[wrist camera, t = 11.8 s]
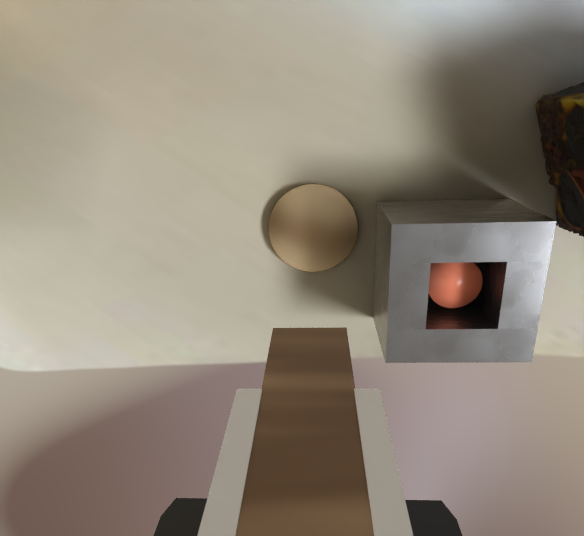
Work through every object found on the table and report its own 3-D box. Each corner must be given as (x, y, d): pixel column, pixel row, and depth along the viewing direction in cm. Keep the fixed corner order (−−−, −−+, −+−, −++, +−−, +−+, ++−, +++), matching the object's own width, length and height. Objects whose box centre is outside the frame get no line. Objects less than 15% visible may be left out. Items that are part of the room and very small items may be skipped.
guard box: (377, 201, 34) (391, 224, 28) (509, 198, 34) (556, 221, 27) (373, 317, 38) (385, 362, 31) (493, 316, 37) (531, 362, 31)
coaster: (266, 185, 34) (266, 186, 34) (357, 182, 34) (358, 183, 33) (271, 269, 37) (270, 272, 36) (356, 268, 36) (357, 271, 36)
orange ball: (417, 242, 35) (429, 258, 31) (466, 241, 34) (485, 257, 31) (414, 287, 36) (425, 308, 32) (462, 286, 36) (479, 307, 32)
